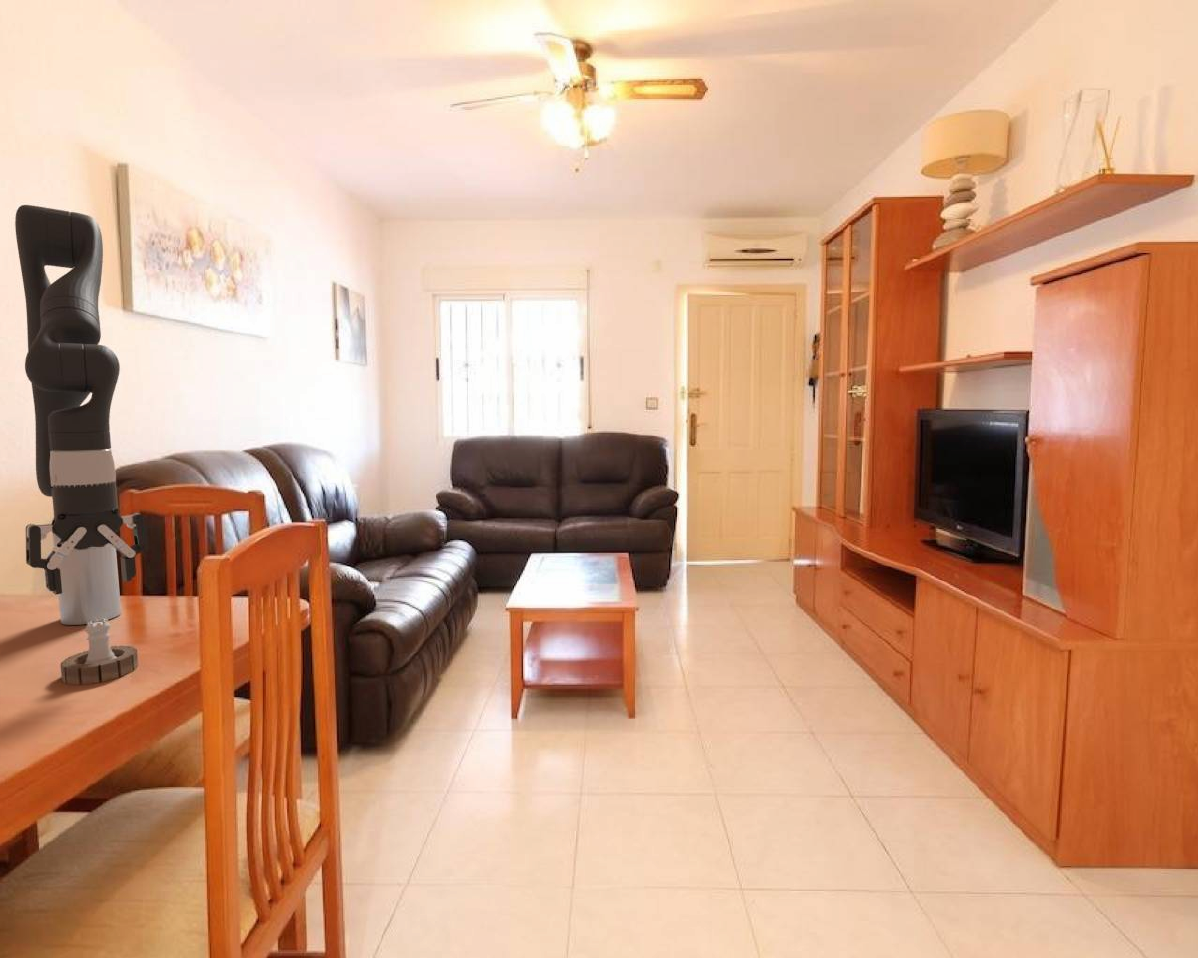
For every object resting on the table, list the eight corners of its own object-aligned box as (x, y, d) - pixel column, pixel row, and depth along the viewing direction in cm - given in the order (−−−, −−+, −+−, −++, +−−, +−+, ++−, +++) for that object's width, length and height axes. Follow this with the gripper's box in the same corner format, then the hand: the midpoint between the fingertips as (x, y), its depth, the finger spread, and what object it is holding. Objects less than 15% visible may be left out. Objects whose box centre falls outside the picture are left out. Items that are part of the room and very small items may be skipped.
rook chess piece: (99, 679, 95) (95, 626, 95) (75, 676, 96) (70, 625, 95) (127, 667, 100) (123, 617, 99) (103, 665, 101) (99, 615, 100)
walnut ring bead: (55, 674, 97) (54, 658, 97) (126, 656, 104) (125, 641, 104) (72, 689, 92) (70, 673, 91) (146, 669, 99) (144, 654, 98)
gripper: (132, 474, 103) (140, 573, 104) (14, 482, 92) (25, 593, 93) (149, 478, 98) (157, 581, 100) (26, 486, 87) (38, 602, 89)
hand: (93, 586), depth 97 cm, fingers open, 8 cm apart
